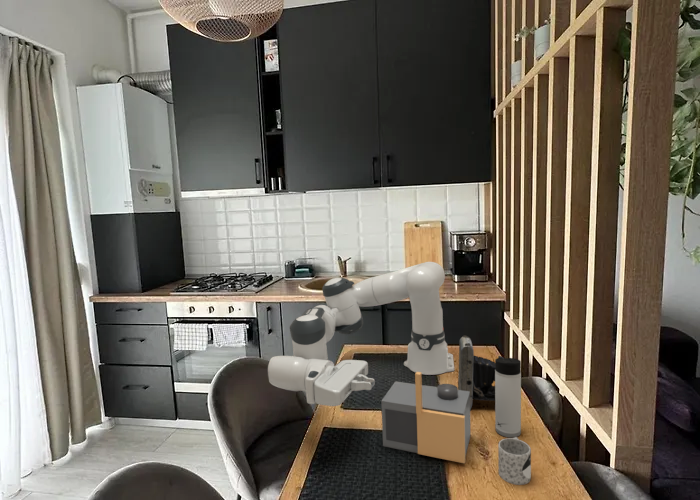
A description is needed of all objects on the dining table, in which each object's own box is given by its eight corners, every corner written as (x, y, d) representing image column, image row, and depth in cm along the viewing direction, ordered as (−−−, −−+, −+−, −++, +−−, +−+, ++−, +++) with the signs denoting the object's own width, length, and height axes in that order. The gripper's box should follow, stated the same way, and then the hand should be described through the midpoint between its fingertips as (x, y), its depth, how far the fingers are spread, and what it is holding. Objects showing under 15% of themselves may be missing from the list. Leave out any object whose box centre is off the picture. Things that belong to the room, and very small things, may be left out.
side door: (418, 451, 99) (416, 371, 97) (465, 460, 95) (464, 377, 93) (417, 455, 98) (415, 374, 96) (464, 464, 93) (463, 380, 91)
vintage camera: (515, 415, 116) (517, 347, 115) (459, 410, 120) (460, 344, 118) (508, 399, 126) (511, 337, 124) (457, 395, 129) (458, 334, 127)
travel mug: (498, 438, 105) (498, 363, 103) (493, 424, 111) (492, 353, 109) (524, 439, 104) (524, 363, 102) (517, 425, 110) (517, 353, 108)
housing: (396, 422, 114) (395, 374, 113) (470, 435, 106) (469, 384, 105) (382, 446, 103) (380, 393, 102) (464, 463, 95) (463, 405, 94)
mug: (530, 488, 86) (530, 458, 85) (497, 480, 89) (496, 451, 88) (531, 460, 95) (531, 433, 94) (501, 454, 98) (501, 428, 97)
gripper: (339, 373, 116) (386, 379, 111) (304, 406, 97) (358, 416, 92) (338, 351, 115) (385, 357, 110) (302, 381, 97) (357, 389, 91)
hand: (372, 384), depth 101 cm, fingers closed
